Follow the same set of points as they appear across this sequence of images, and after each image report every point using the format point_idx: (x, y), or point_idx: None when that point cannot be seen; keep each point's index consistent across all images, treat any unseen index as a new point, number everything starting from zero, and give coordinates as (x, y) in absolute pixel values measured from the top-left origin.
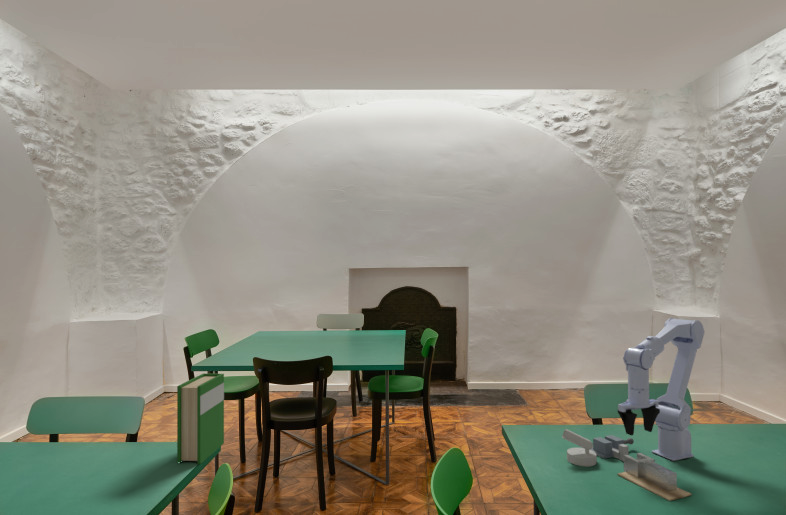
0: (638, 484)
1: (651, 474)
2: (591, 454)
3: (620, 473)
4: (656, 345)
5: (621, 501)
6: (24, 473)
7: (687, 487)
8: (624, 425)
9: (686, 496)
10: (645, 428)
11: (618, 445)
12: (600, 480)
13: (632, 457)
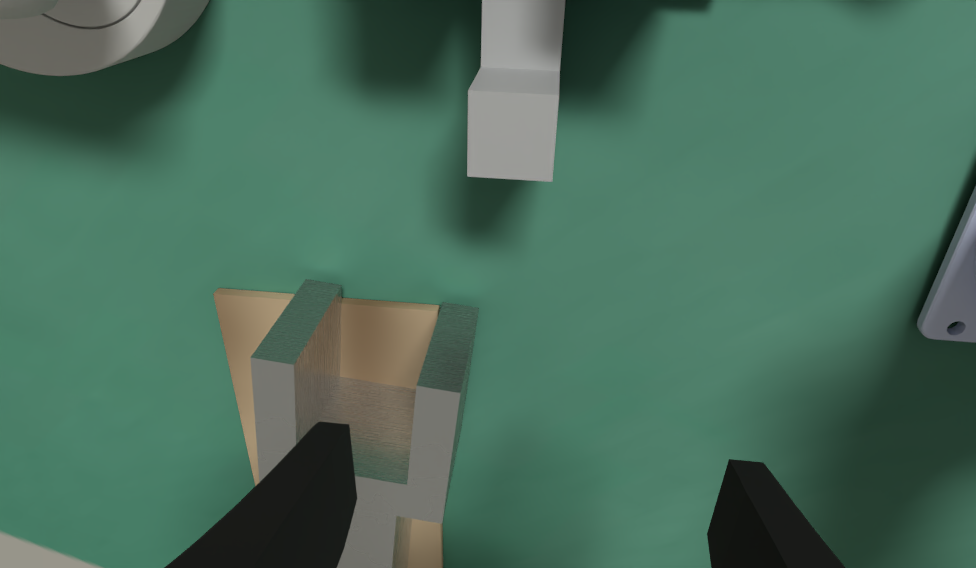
0: (248, 444)
1: None
2: (89, 2)
3: (238, 303)
4: None
5: (28, 496)
6: None
7: (516, 562)
8: (240, 511)
9: None
10: (733, 496)
11: (471, 87)
12: (37, 292)
13: (291, 424)
